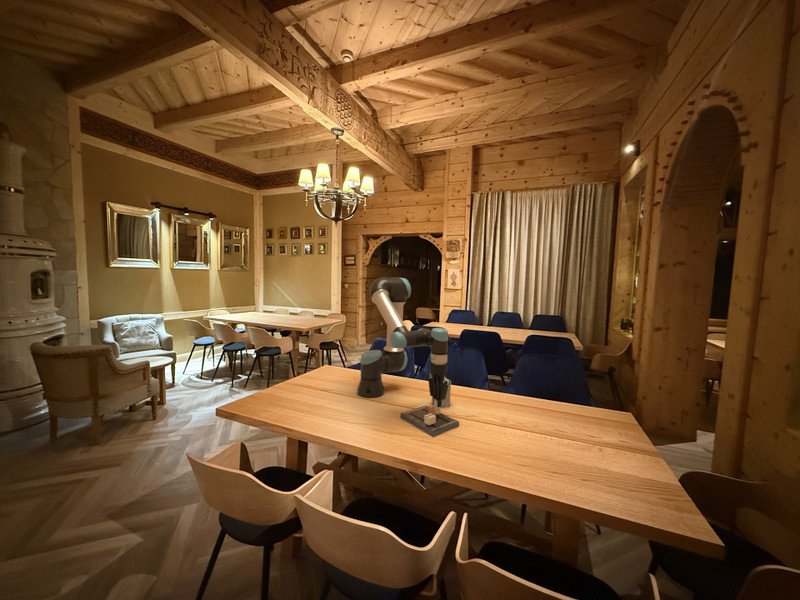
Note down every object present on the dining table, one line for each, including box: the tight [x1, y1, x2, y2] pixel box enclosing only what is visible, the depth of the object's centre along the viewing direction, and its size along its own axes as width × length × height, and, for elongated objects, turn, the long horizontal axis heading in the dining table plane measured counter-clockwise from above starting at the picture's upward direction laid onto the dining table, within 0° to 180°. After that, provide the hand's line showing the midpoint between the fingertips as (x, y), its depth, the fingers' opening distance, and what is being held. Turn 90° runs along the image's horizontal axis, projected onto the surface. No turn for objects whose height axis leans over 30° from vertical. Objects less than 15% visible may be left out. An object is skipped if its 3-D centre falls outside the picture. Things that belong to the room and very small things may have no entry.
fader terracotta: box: [428, 404, 439, 415], centre depth 149 cm, size 3×4×4 cm
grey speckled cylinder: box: [431, 378, 452, 409], centre depth 166 cm, size 10×10×12 cm
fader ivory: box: [424, 414, 436, 425], centre depth 140 cm, size 3×4×4 cm
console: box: [399, 405, 460, 438], centre depth 146 cm, size 22×16×2 cm
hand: (437, 412), depth 148 cm, fingers closed
